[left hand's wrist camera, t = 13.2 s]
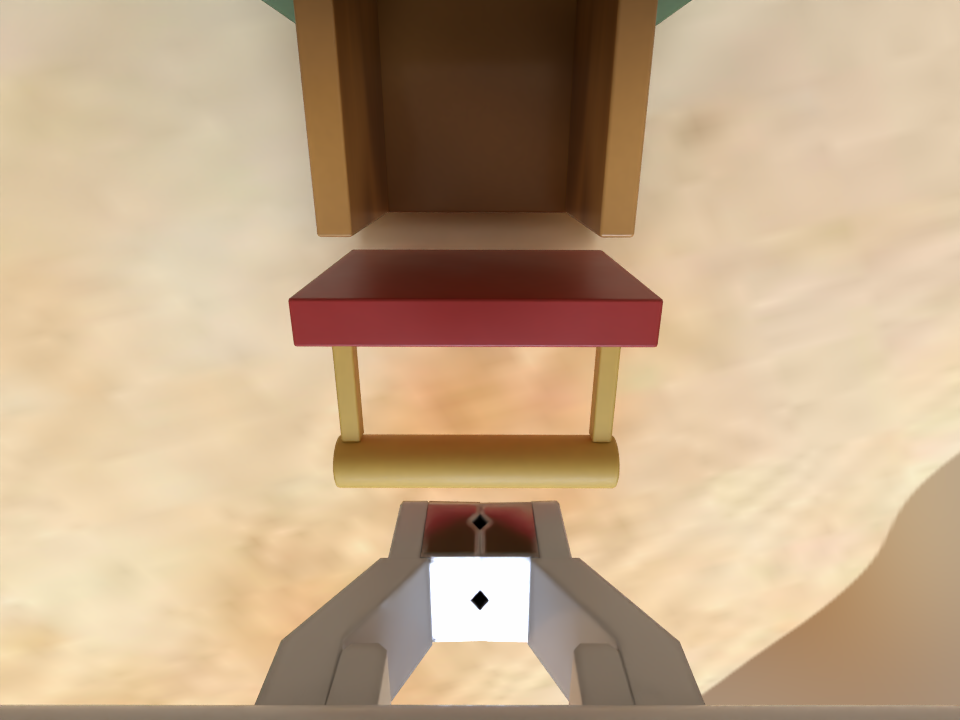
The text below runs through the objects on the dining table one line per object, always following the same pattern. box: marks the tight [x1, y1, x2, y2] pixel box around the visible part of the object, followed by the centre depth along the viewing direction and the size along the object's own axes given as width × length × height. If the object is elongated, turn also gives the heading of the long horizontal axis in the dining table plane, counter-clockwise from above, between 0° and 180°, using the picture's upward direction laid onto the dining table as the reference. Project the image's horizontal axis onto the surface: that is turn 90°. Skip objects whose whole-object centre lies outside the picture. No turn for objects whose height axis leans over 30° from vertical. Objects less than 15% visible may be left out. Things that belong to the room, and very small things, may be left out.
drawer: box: [289, 0, 663, 488], centre depth 15 cm, size 19×9×7 cm, turn 0°
